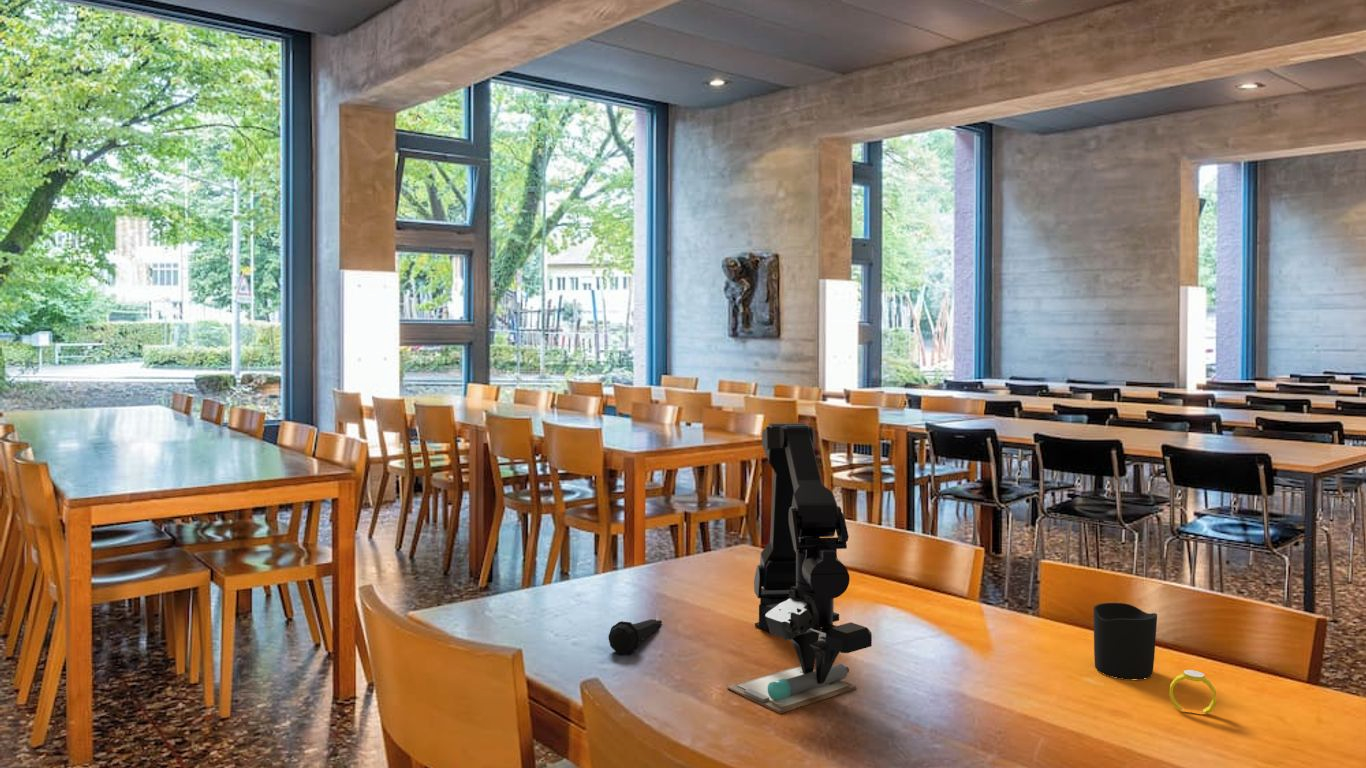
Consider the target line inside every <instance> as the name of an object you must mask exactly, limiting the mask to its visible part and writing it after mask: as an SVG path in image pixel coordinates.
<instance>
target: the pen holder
mask: <svg viewBox="0 0 1366 768" xmlns="http://www.w3.org/2000/svg"><path fill="white" fill-rule="evenodd" d="M1157 624H1158V614H1157V613H1156V612H1155V613H1154V612H1152V613H1147V612H1145V611H1143V610H1142V609H1139V608H1138V607H1136V606H1135V605H1132V604H1130V603H1124V602H1103V603H1100V604H1096V605H1094V606H1093V650H1094V652H1093V655H1094V656H1093V657H1094V659H1093V660H1094V667H1095V669H1096V670H1097V672H1099V671H1100V672H1102V673H1104V674H1106V675H1105V676H1107V675H1109V676H1108V677H1110V676H1113V677H1117V678H1116V679H1118V678H1123V679H1122V680H1124V679H1143V680H1145V679H1144V678H1147V679H1149V678H1151V676H1153V674H1154V663H1155V652H1156V638H1157ZM1100 672H1099V673H1100ZM1102 673H1101V674H1102ZM1104 674H1103V675H1104ZM1113 677H1112V678H1113ZM1148 677H1149V678H1148Z"/></svg>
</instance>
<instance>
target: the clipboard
mask: <svg viewBox="0 0 1366 768" xmlns="http://www.w3.org/2000/svg"><path fill="white" fill-rule="evenodd" d="M813 671H816V669H814V670H813ZM799 675H803V671H802V668H801V665H800V664H799V665H796V666H793V667H790V668H787V669H783V670H779V671H777V672H773V673H770V674H766V675H763V676H759V677H756V678H752V679H749V680H745V681H742V682H739V683H736V684H730V685H728V686H727V688H726V689H727V690H728V689H730V690H731V691H730V690H729V691H730V692H732V691H734V692H733V693H735V692H736V693H735V694H737V693H738V694H737V695H739V694H740V695H739V696H741V695H742V696H741V697H743V696H744V697H743V698H745V697H746V698H745V699H747V698H748V700H749V701H752V702H753V703H756V704H758V705H760V704H761V705H760V706H762V705H763V706H762V707H765V708H767V709H769V710H771V711H772V712H775V711H776V713H777V714H782V713H783V714H784V713H786V712H789V711H792V710H794V709H798V708H801V707H804V706H807V705H810V703H811V704H814V703H816V702H815V701H817V702H820V701H823V700H826V699H828V698H832V697H834V696H837V695H841V694H844V693H847V692H850V691H854V690H856V689H857V686H856V685H854V684H852V683H849V682H846V681H845V680H843V679H842V680H839V681H836V682H833V683H830V684H826V685H823V686H820V687H817V688H813V689H810V690H807V691H804V692H800V693H797V694H794V695H791V696H788V697H784V698H781V699H778V700H773V699H772V698H771V697H770V696H769V694H768V685H769V683H771V682H774V681H778V680H781V679H789V678H793V677H796V676H799ZM825 698H826V699H825ZM822 699H823V700H822ZM819 700H820V701H819ZM813 702H814V703H813ZM800 706H801V707H800ZM797 707H798V708H797Z"/></svg>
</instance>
